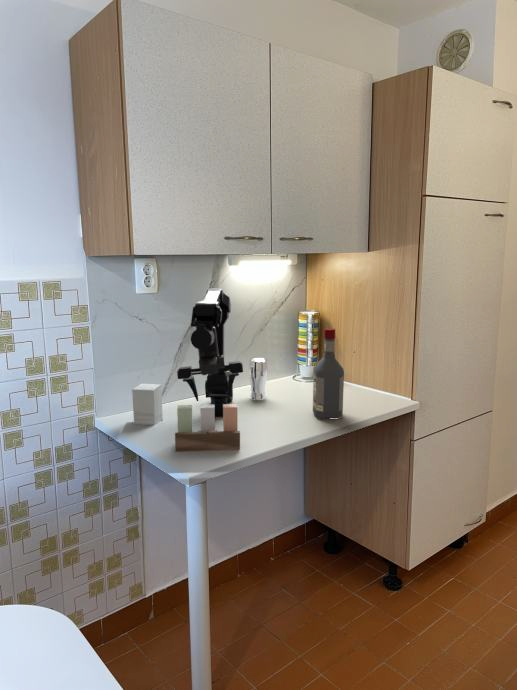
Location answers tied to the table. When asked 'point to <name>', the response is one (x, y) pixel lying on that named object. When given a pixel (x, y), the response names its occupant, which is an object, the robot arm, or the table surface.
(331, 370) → the liquor
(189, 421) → the sage key
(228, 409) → the salmon brown block
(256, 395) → the beer glass
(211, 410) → the light grey tall block
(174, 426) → the table surface
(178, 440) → the keypad base
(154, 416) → the supplement box
